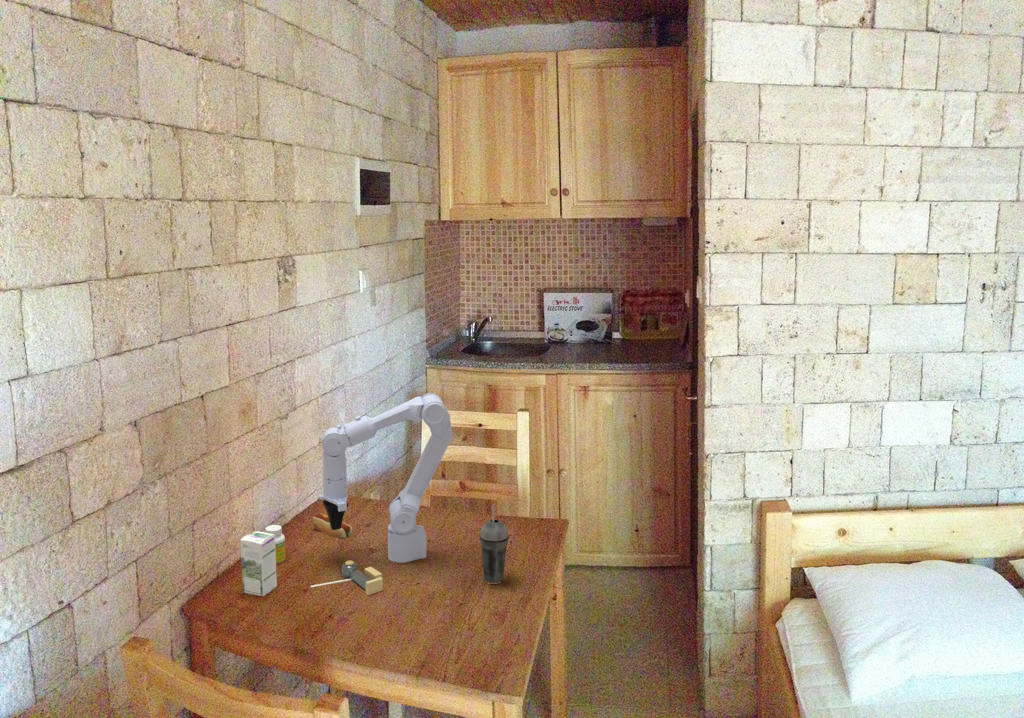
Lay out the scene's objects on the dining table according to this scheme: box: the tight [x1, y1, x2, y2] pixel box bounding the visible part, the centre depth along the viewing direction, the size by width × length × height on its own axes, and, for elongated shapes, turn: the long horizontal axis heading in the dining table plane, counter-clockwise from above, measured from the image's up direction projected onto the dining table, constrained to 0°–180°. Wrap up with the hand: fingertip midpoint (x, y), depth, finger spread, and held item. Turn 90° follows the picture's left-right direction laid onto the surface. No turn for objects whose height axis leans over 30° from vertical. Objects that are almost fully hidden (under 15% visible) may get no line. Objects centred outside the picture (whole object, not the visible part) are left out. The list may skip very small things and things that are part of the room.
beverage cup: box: [478, 504, 510, 583], centre depth 202 cm, size 7×7×20 cm
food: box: [312, 513, 354, 539], centre depth 228 cm, size 14×6×5 cm, turn 50°
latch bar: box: [341, 561, 371, 591], centre depth 198 cm, size 12×4×3 cm, turn 38°
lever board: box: [310, 560, 384, 596], centre depth 197 cm, size 16×18×5 cm
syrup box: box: [240, 530, 278, 597], centre depth 192 cm, size 6×6×14 cm
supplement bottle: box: [264, 524, 287, 565], centre depth 209 cm, size 5×5×10 cm
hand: (335, 528), depth 208 cm, fingers closed
